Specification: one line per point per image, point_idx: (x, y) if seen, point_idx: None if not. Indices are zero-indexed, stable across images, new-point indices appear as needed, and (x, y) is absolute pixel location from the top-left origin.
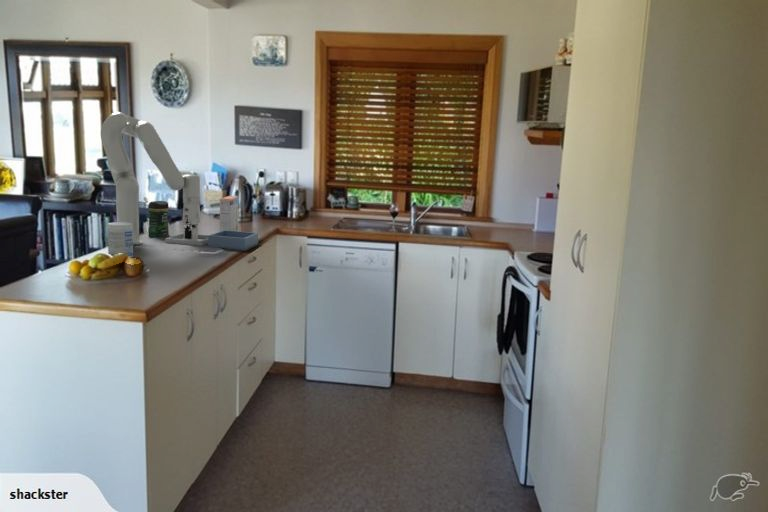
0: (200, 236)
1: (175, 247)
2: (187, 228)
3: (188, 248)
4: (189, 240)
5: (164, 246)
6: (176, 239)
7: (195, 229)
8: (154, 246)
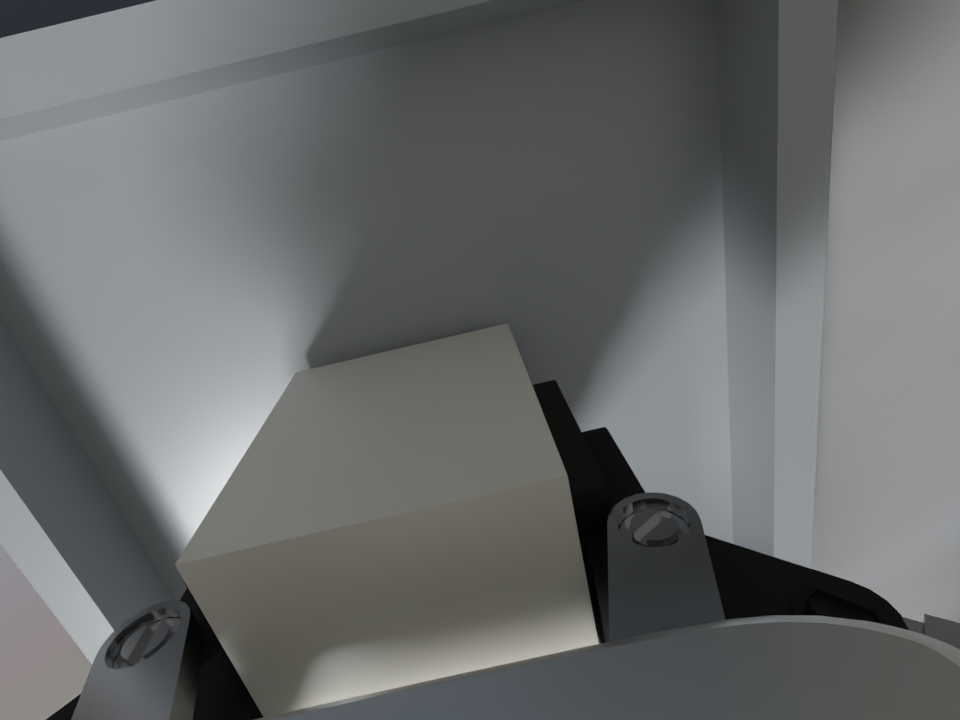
0: (58, 492)
1: (888, 349)
2: (803, 571)
3: (900, 112)
4: (822, 229)
5: (869, 502)
6: (812, 492)
7: (393, 496)
8: (915, 577)
